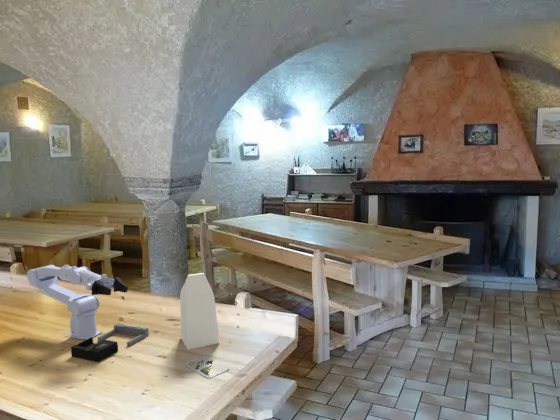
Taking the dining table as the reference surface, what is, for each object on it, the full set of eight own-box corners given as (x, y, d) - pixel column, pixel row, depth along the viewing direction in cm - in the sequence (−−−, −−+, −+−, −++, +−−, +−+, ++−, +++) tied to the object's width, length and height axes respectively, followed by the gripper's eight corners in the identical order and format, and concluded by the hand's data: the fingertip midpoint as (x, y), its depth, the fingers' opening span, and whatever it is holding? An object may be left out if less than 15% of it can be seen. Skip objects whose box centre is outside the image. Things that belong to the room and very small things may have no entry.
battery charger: (118, 352, 170) (117, 341, 170) (98, 363, 161) (97, 352, 161) (92, 347, 175) (91, 336, 175) (71, 357, 167) (70, 346, 166)
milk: (187, 349, 170) (183, 280, 166) (180, 338, 180) (176, 272, 177) (219, 343, 174) (215, 275, 171) (211, 332, 185) (207, 268, 182)
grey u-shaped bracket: (97, 341, 180) (97, 332, 179) (117, 330, 190) (117, 322, 190) (129, 346, 174) (129, 337, 174) (148, 335, 184) (148, 327, 184)
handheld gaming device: (204, 354, 164) (230, 368, 153) (205, 356, 164) (230, 370, 153) (183, 363, 158) (208, 378, 147) (183, 365, 158) (208, 380, 147)
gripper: (79, 272, 173) (104, 282, 166) (111, 269, 185) (135, 278, 179) (77, 291, 173) (101, 301, 167) (108, 286, 186) (132, 296, 179)
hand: (118, 291), depth 173 cm, fingers open, 7 cm apart
